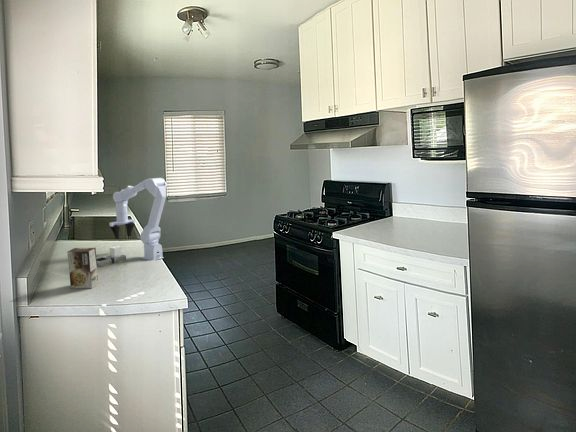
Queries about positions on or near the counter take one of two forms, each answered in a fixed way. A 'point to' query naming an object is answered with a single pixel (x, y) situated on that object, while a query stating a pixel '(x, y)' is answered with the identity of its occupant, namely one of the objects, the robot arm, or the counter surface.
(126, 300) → the counter surface
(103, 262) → the panel
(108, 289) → the counter surface
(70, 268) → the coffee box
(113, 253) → the plug
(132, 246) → the counter surface
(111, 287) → the counter surface
